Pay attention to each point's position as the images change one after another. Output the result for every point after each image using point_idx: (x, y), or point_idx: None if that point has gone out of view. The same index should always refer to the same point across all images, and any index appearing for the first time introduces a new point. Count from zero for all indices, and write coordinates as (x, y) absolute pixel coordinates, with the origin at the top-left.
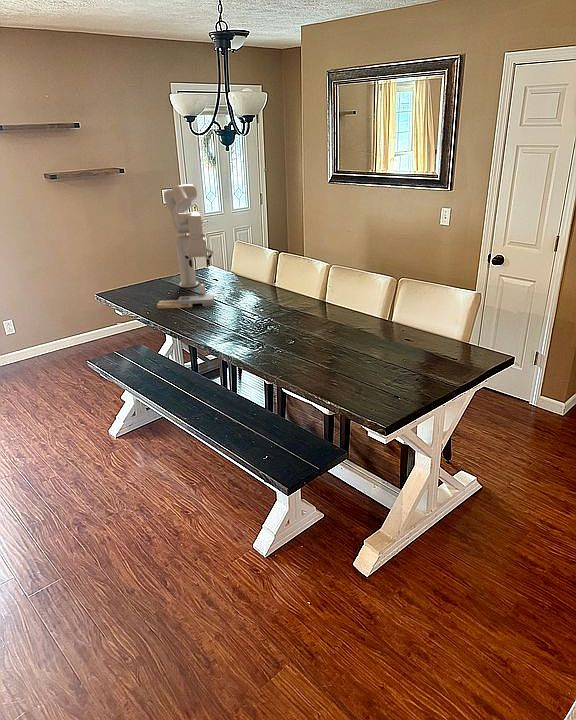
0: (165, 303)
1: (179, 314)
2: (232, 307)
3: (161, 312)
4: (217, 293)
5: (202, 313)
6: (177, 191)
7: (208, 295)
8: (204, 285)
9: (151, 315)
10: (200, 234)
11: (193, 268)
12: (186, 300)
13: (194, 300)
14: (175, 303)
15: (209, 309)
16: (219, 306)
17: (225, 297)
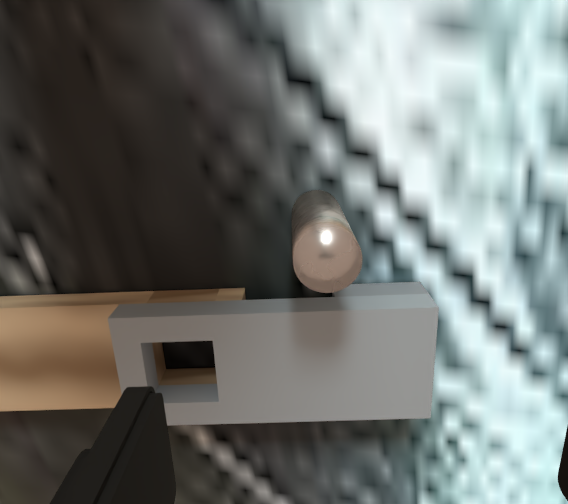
0: (24, 379)
1: (193, 500)
2: (560, 413)
3: (52, 457)
4: (440, 20)
5: (347, 497)
6: None
7: (387, 314)
8: (360, 266)
9: (6, 500)
10: None
11: None
12: (204, 422)
13: (273, 420)
14: (110, 387)
15: (389, 435)
16: (462, 385)
17: (519, 168)
